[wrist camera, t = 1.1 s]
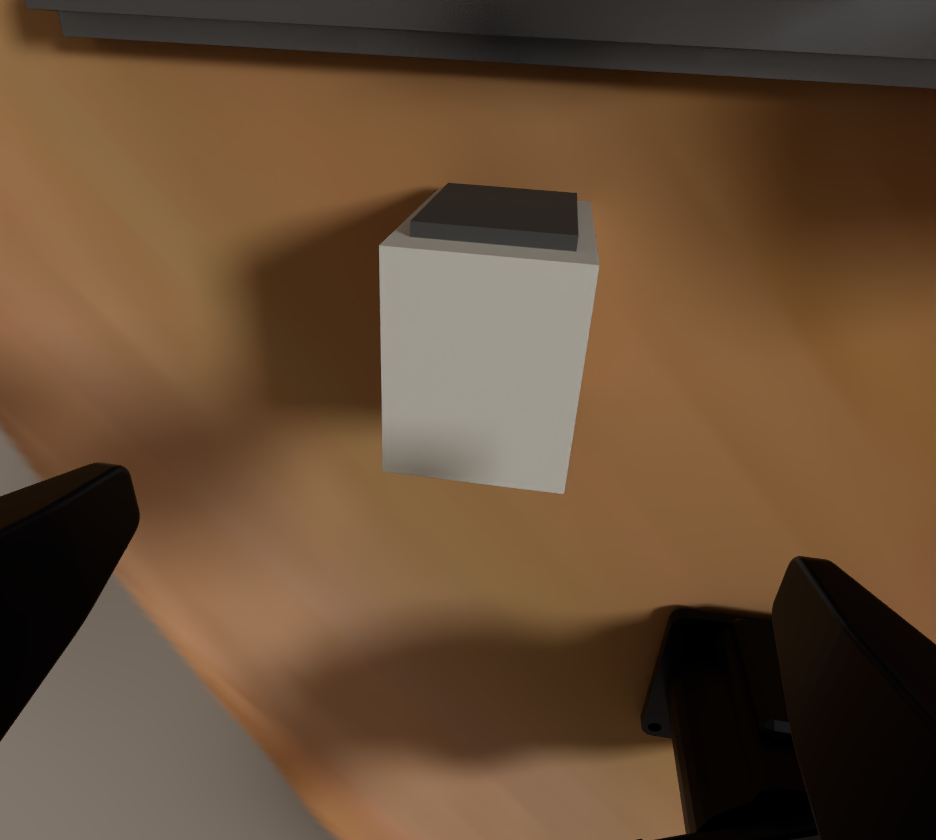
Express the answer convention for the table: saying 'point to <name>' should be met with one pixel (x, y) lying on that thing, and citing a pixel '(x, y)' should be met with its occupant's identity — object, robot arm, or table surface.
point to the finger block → (486, 335)
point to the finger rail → (556, 32)
